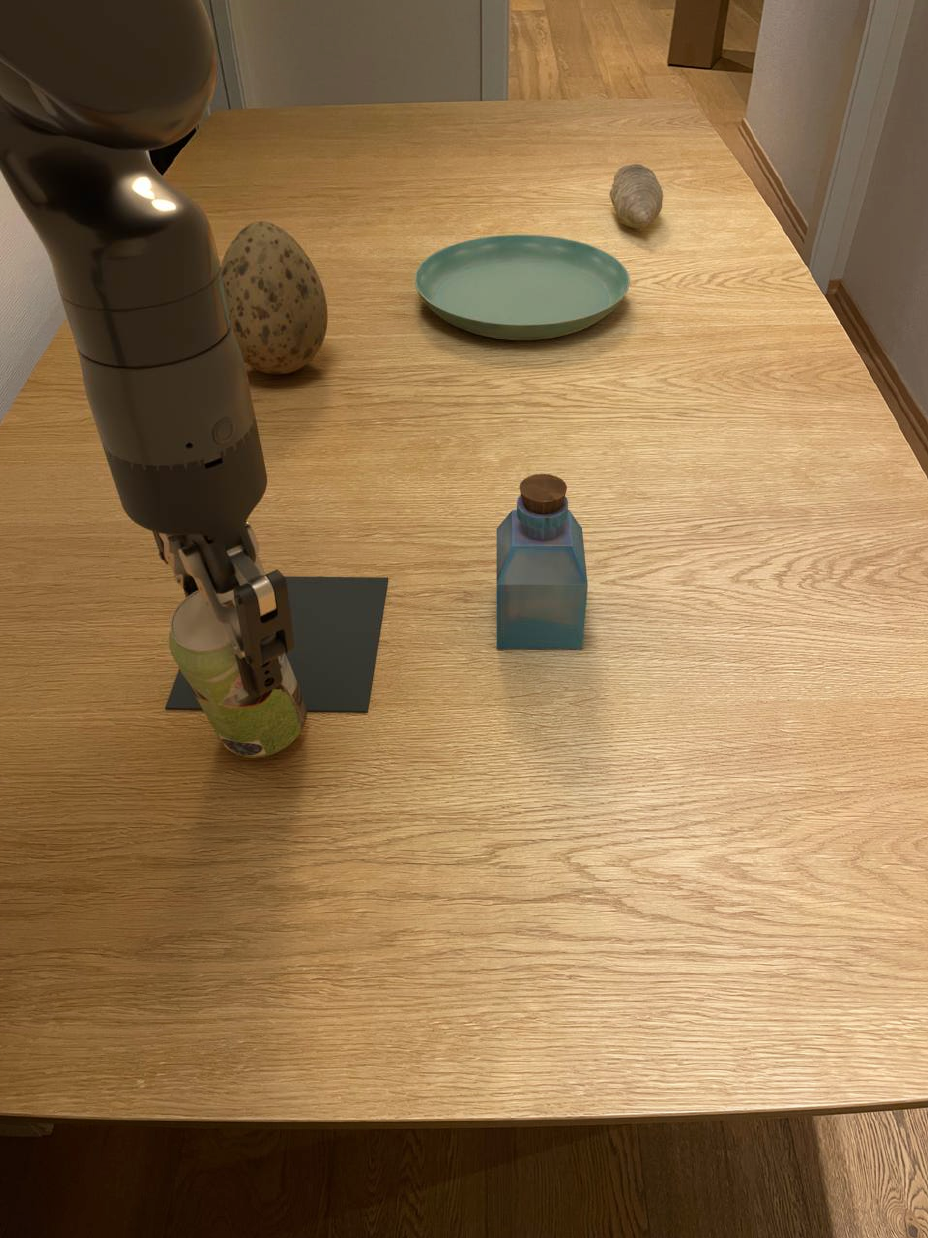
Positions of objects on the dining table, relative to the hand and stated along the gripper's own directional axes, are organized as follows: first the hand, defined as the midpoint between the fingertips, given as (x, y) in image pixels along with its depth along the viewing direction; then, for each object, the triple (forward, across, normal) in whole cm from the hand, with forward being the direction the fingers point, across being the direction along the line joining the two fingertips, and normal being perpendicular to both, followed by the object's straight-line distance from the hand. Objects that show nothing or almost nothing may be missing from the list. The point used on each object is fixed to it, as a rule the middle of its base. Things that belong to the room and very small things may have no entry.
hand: (238, 656), depth 59 cm
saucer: (+8, -40, +55) cm, 68 cm away
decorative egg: (+8, -44, +26) cm, 51 cm away
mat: (+8, -8, +6) cm, 12 cm away
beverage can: (+8, 0, 0) cm, 8 cm away
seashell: (+8, -49, +82) cm, 96 cm away
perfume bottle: (+8, +2, +22) cm, 24 cm away
